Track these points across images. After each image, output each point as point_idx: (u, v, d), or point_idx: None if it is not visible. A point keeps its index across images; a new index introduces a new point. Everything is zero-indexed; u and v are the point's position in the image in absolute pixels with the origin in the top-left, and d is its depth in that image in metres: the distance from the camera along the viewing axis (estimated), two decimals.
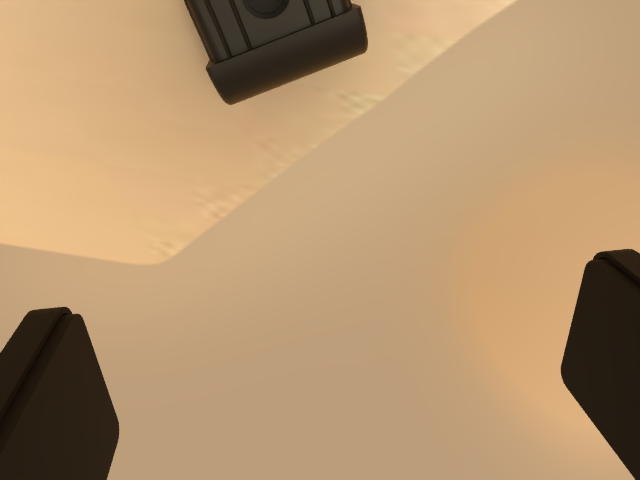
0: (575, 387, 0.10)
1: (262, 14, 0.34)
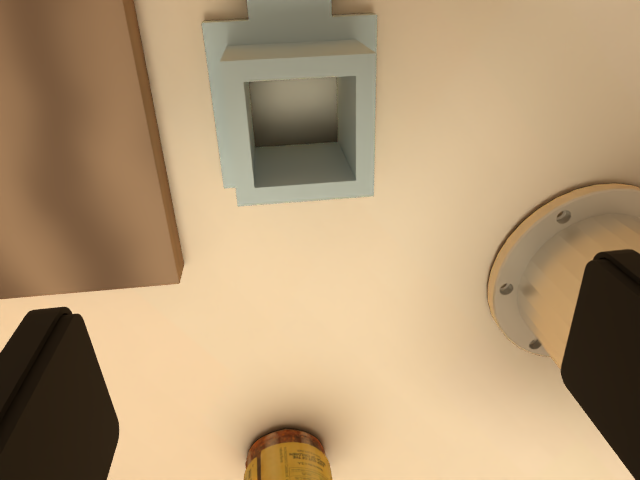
0: (575, 387, 0.10)
1: None
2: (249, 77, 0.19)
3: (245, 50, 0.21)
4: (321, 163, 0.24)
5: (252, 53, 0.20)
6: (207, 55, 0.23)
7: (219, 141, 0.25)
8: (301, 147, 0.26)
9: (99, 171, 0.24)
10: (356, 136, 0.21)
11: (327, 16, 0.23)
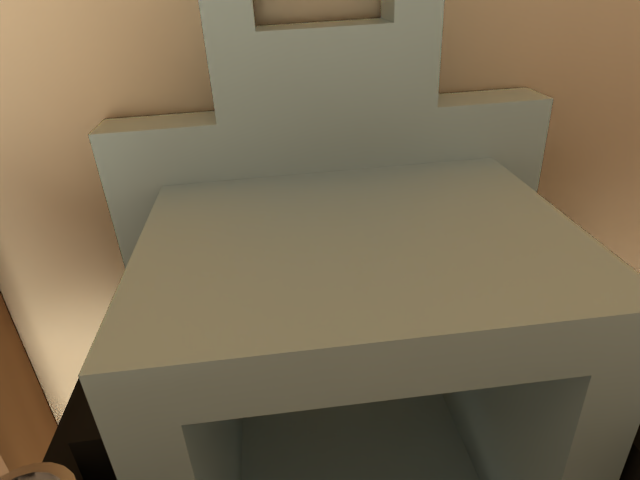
0: None
1: None
2: (202, 411, 0.05)
3: (203, 233, 0.07)
4: (407, 463, 0.10)
5: (220, 269, 0.06)
6: (113, 210, 0.09)
7: None
8: None
9: None
10: None
11: (425, 106, 0.09)
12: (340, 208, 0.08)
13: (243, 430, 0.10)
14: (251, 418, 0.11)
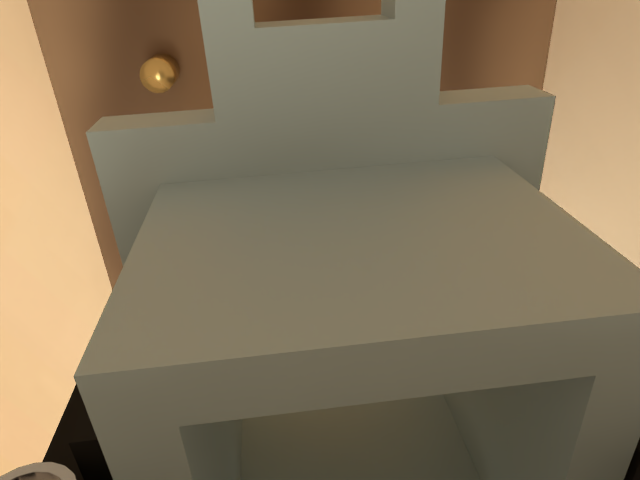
0: None
1: None
2: (200, 412, 0.05)
3: (201, 232, 0.07)
4: (408, 464, 0.09)
5: (218, 268, 0.06)
6: (111, 209, 0.09)
7: None
8: None
9: None
10: None
11: (427, 104, 0.09)
12: (340, 206, 0.07)
13: (242, 431, 0.10)
14: (250, 419, 0.11)
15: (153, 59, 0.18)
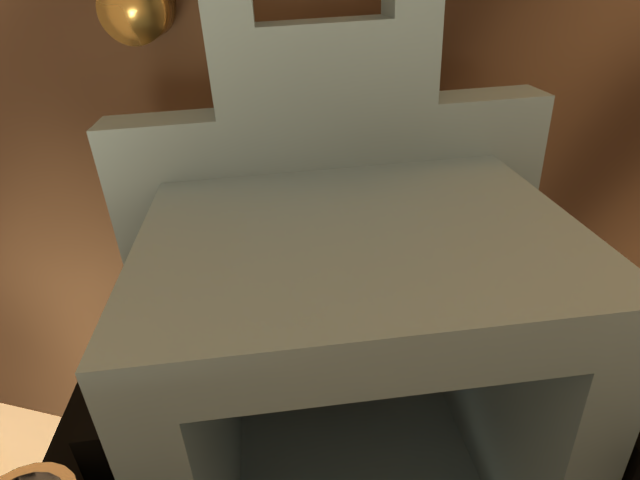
0: None
1: None
2: (201, 409, 0.05)
3: (201, 230, 0.07)
4: (407, 462, 0.10)
5: (219, 267, 0.06)
6: (111, 208, 0.09)
7: None
8: None
9: None
10: None
11: (426, 103, 0.09)
12: (340, 205, 0.07)
13: (242, 429, 0.10)
14: (250, 417, 0.11)
15: None
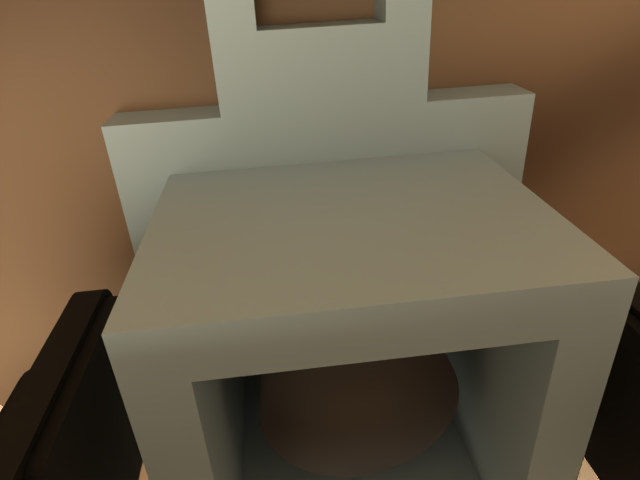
0: None
1: None
2: (210, 369, 0.06)
3: (208, 216, 0.08)
4: None
5: (225, 247, 0.07)
6: (123, 198, 0.09)
7: None
8: None
9: None
10: (529, 469, 0.07)
11: (416, 101, 0.09)
12: (335, 194, 0.08)
13: (245, 407, 0.11)
14: (252, 397, 0.11)
15: None
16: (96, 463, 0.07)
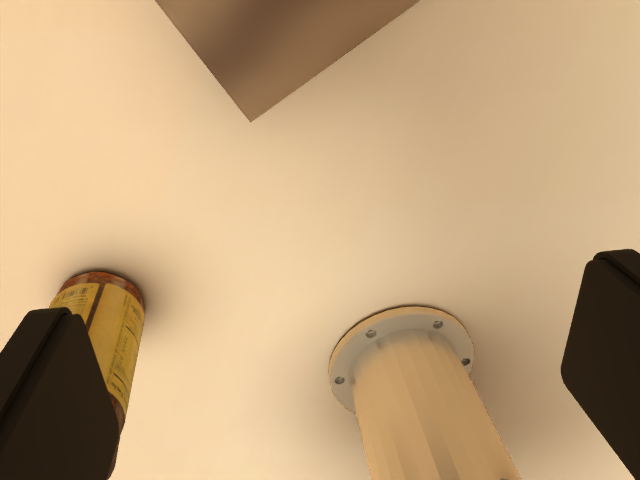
0: (575, 387, 0.10)
1: None
2: None
3: None
4: None
5: None
6: None
7: None
8: None
9: (321, 8, 0.26)
10: None
11: None
12: None
13: None
14: None
15: None
16: None
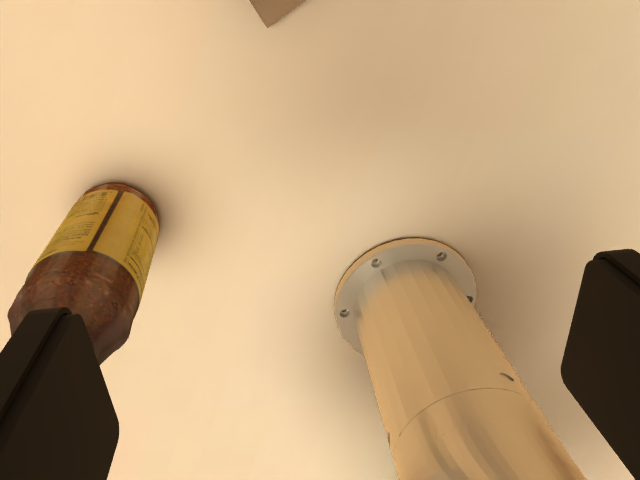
0: (575, 387, 0.10)
1: None
2: None
3: None
4: None
5: None
6: None
7: None
8: None
9: None
10: None
11: None
12: None
13: None
14: None
15: None
16: None
